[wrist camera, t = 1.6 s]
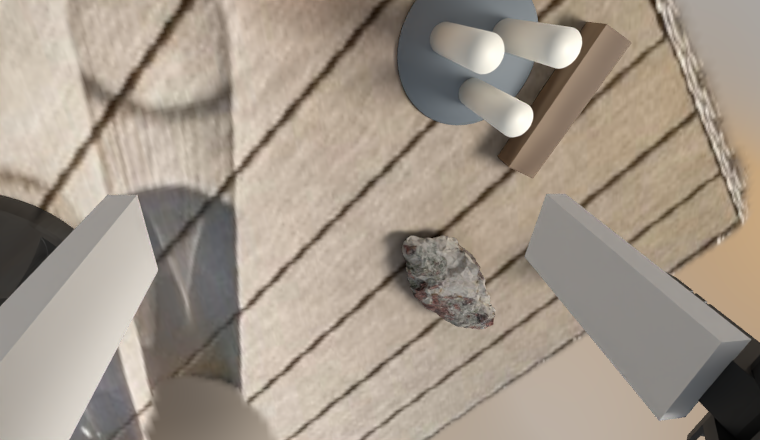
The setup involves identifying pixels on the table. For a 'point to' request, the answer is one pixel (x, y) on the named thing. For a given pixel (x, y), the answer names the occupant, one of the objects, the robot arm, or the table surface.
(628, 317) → the robot arm
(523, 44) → the pin
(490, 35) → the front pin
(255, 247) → the table surface
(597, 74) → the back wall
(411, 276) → the mineral rock
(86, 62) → the table surface
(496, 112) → the pin
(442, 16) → the pin disc
